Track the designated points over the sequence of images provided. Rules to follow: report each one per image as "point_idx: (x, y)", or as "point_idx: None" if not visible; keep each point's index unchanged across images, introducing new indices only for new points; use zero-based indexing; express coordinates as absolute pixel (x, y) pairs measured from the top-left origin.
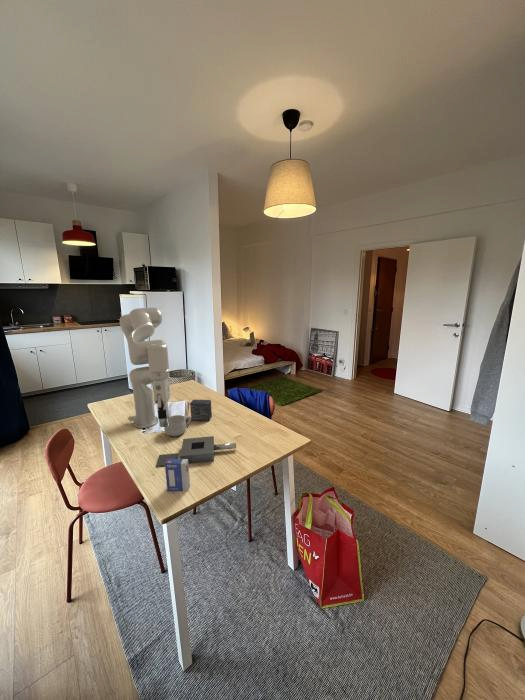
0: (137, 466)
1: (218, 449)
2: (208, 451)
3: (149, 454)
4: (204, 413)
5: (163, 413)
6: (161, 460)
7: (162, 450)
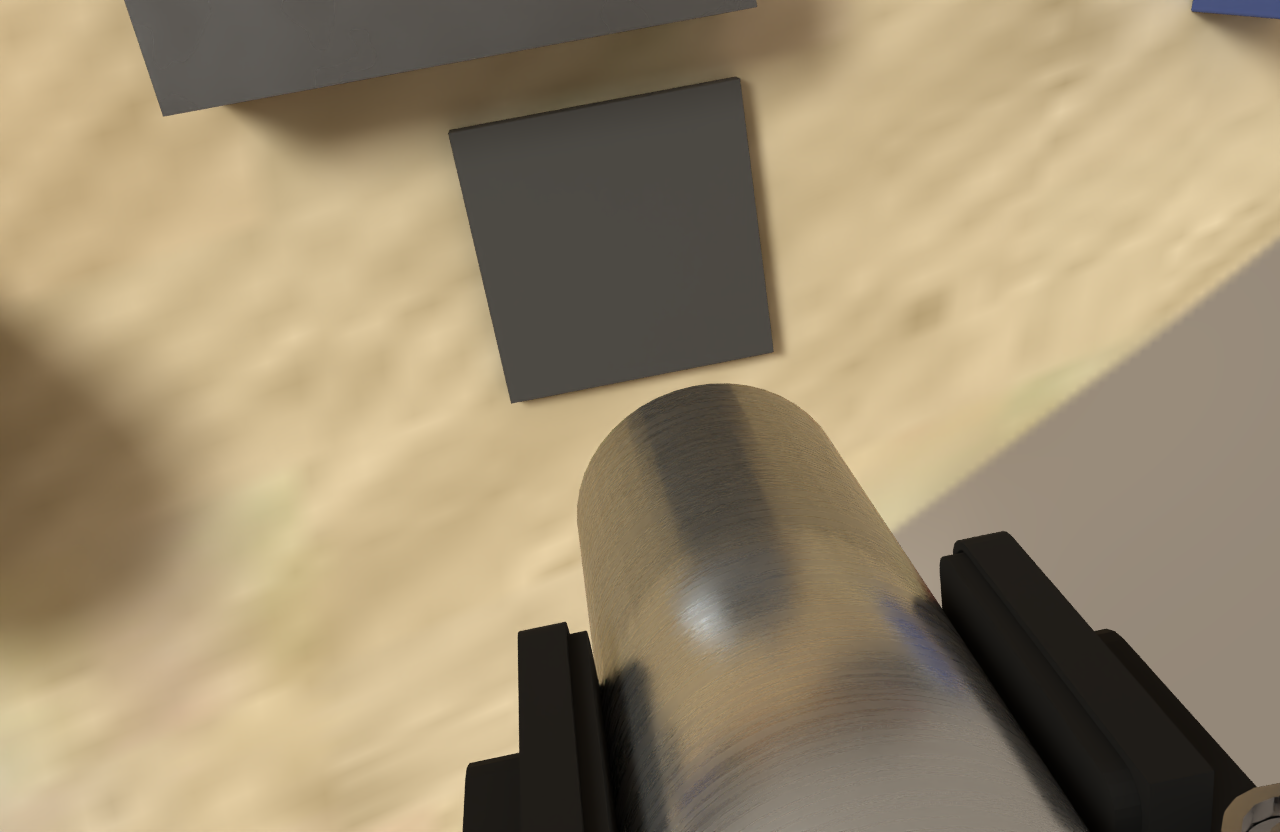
0: None
1: None
2: None
3: (477, 541)
4: None
5: (1192, 726)
6: (652, 322)
7: (362, 407)
